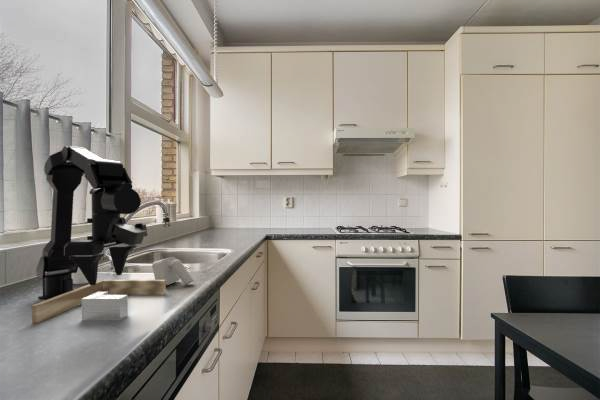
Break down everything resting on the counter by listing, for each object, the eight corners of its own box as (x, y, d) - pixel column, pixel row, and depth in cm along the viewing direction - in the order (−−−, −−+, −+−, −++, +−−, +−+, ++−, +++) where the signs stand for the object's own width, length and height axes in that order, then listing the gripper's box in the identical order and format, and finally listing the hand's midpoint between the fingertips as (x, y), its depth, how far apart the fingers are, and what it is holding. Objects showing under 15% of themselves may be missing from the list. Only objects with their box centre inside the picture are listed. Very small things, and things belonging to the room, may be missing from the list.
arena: (32, 323, 70) (32, 305, 70) (101, 293, 93) (101, 279, 93) (117, 323, 70) (117, 305, 70) (165, 293, 92) (165, 279, 93)
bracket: (81, 320, 72) (81, 298, 72) (98, 311, 77) (98, 291, 77) (120, 320, 71) (119, 298, 71) (133, 311, 77) (133, 291, 77)
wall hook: (186, 287, 97) (179, 255, 97) (158, 293, 99) (151, 262, 99) (200, 280, 104) (193, 251, 105) (173, 286, 106) (166, 258, 107)
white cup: (102, 280, 108) (102, 252, 108) (76, 286, 102) (76, 255, 102) (91, 278, 113) (91, 250, 113) (65, 282, 106) (65, 253, 106)
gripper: (114, 215, 63) (115, 291, 63) (159, 211, 82) (159, 270, 82) (61, 215, 64) (62, 291, 64) (118, 212, 83) (118, 270, 83)
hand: (106, 279), depth 73 cm, fingers open, 9 cm apart
